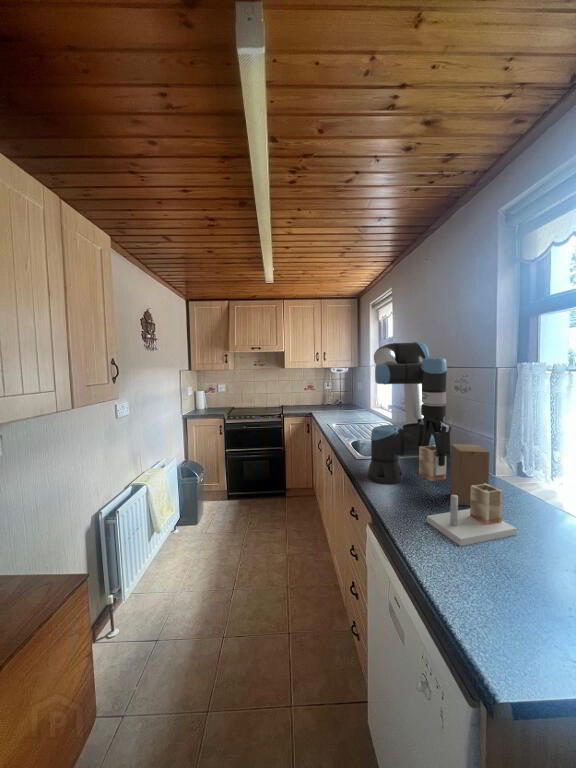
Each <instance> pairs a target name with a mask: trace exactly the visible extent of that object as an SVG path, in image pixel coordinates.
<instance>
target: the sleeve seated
mask: <svg viewBox="0 0 576 768" xmlns="http://www.w3.org/2000/svg"><path fill="white" fill-rule="evenodd" d="M485 490H488V491H485ZM503 494H504V490H502V489H499V488H497V487H496V486H493V485H491V484H489V485H488V484H479V485H472V486H471V496H470V507H469V509H470V516H471V517H473V518H474V519H476V520H478V521H480V522H481V523H483V524H485V525H490V524H495V523H501V522H502V521H503V497H504V495H503Z"/></svg>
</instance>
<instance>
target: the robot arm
mask: <svg viewBox="0 0 576 768" xmlns="http://www.w3.org/2000/svg"><path fill="white" fill-rule="evenodd" d="M373 362H374V364H375V367H374V368H375V369H374V378H375V379H374V381H375V383H376V384H379V385H403V391H404V408H405V423H404V424H402V428H399V426H398V425H395V424H384V425H377V426H375V427H373V428H372V429H371V434H370V435H371V436H370V442H371V444H370V448H371V449H370V451H371V453H370V457H371V458H370V463H369V466H368V469H367V470H366V472H367V473H366V476H367V479H368V480H369V481H372V482H374V483H376V484H377V483H378V484H383V485H395V484H400V483H402V481H404V480H403V477H404V476H403V472H402V469H401V466H400V462H399V457H413V458H414V457H418V458H419V447H421V446H430V445H435V446H436V450H437V455H436V456H435V475H443V474H444V465H445V456H451V434H450V433H451V430H452V426H451V425H449V424H448V425H447V424H445V420H444V418H445V417H446V415H447V414H446V413H447V408H446V407H447V406H446V405H445V404H447V374H448V373H447V371H448V366H447V359H445V358H443V357H439V358H438V357H433V358H432V357H431V358H430V353H429V348H428V347H427V345H426V344H425V343H424V342H418V341H413V342H391V343H387V344H384V345H382V346H380V347H378V349H376V350H375V352H374V354H373Z"/></svg>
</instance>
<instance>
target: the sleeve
mask: <svg viewBox="0 0 576 768" xmlns="http://www.w3.org/2000/svg"><path fill="white" fill-rule="evenodd" d="M436 455H437V450H436V446H435V445H430V446H421V447H419V457H418V475H419V476H421V477H423V478H424V479H426V480H427V481H428V480H429V481H430V482H433V481H434V482H435V481H440V480H446V479H447V456H445V465H444V474H443V475H435V456H436Z"/></svg>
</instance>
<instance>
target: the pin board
mask: <svg viewBox="0 0 576 768" xmlns="http://www.w3.org/2000/svg"><path fill="white" fill-rule="evenodd" d="M485 491H488V490H485ZM449 505H450V509H449V511H448V512H442V513H436V514H431V515H429V514H428V515H427V516H426V522H427V523H428V524H429V525H430V526H432V527H433V528H435V529H436V530H437V531H439V532H440V533H442V534H443V535H445V536H446V537H447V538H448V539H450V540H452V541H453V542H454V543H456V544H457V545H458V546H460V547H462V546H468V545H474V544H477V543H483V542H487V541H492V540H498V539H503V538H507V537H508V538H509V537H513V536H517V534H518V531H517V530H518V528H517V527H515V526H513V525H512V524H509V523H508V522H505V521H503V520H502V522H501V523H495V524H490V525H485V524H483V523H481V522H480V521H478V520H476V519H474V518H473V517H471V516H470V508H466V509H461V510H459V505H458V496H457V495H451V494H450V504H449Z"/></svg>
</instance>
